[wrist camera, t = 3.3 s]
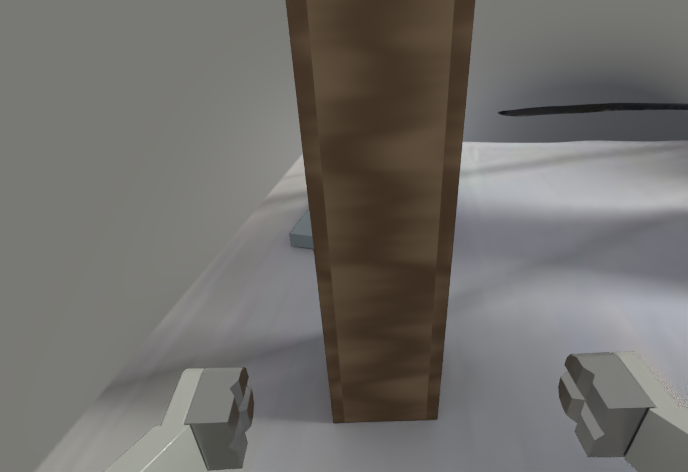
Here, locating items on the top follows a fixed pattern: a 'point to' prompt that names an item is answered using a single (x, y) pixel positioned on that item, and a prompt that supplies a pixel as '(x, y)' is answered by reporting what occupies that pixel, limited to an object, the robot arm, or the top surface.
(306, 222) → the base plate
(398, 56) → the walnut sleeve
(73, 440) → the top surface
